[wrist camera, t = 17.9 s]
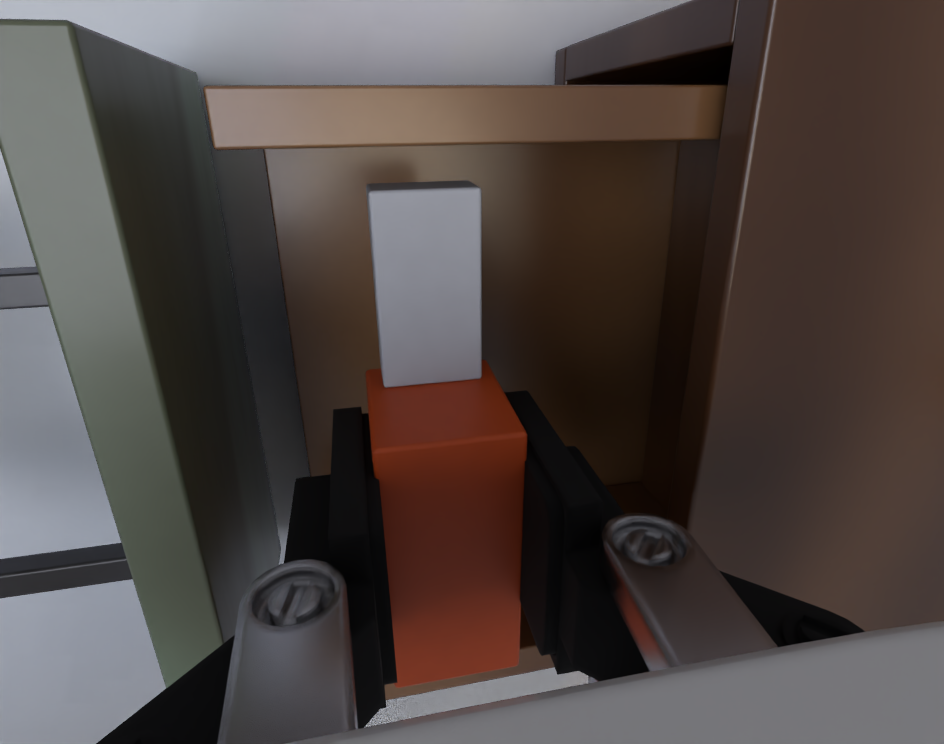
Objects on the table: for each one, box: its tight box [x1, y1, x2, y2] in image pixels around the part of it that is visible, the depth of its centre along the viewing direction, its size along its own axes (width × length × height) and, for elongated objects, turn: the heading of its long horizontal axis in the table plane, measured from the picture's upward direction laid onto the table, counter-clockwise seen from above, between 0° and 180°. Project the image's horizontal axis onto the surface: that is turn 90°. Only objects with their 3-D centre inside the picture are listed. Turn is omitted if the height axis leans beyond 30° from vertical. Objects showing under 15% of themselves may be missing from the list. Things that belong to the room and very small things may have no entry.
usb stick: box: [365, 180, 527, 688], centre depth 10 cm, size 9×2×3 cm, turn 1°
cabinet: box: [555, 0, 944, 632], centre depth 16 cm, size 15×15×9 cm
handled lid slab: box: [0, 19, 728, 700], centre depth 13 cm, size 21×13×7 cm, turn 91°
